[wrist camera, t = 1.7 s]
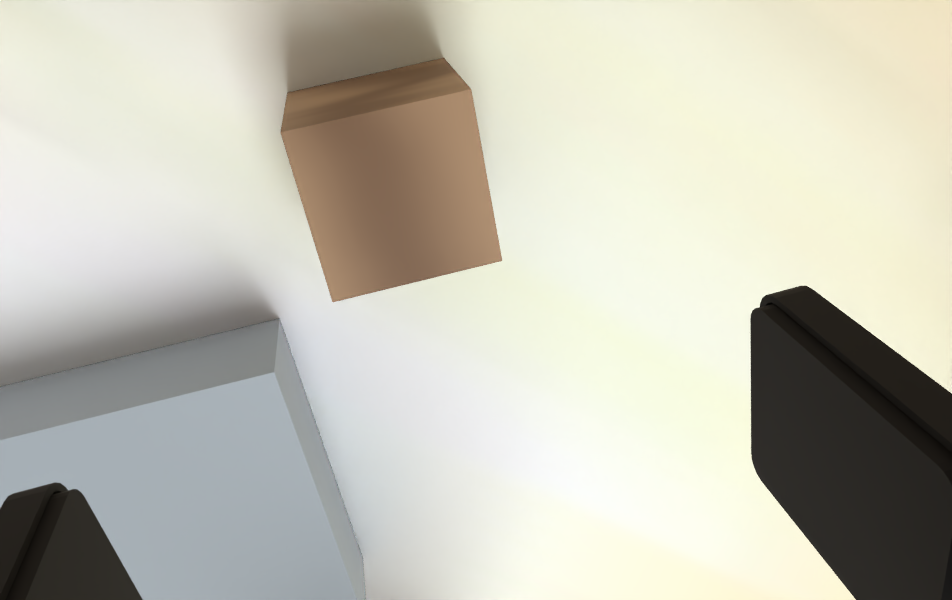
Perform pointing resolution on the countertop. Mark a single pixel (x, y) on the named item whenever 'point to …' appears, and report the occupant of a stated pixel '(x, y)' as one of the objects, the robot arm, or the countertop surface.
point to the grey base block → (193, 468)
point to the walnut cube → (391, 177)
